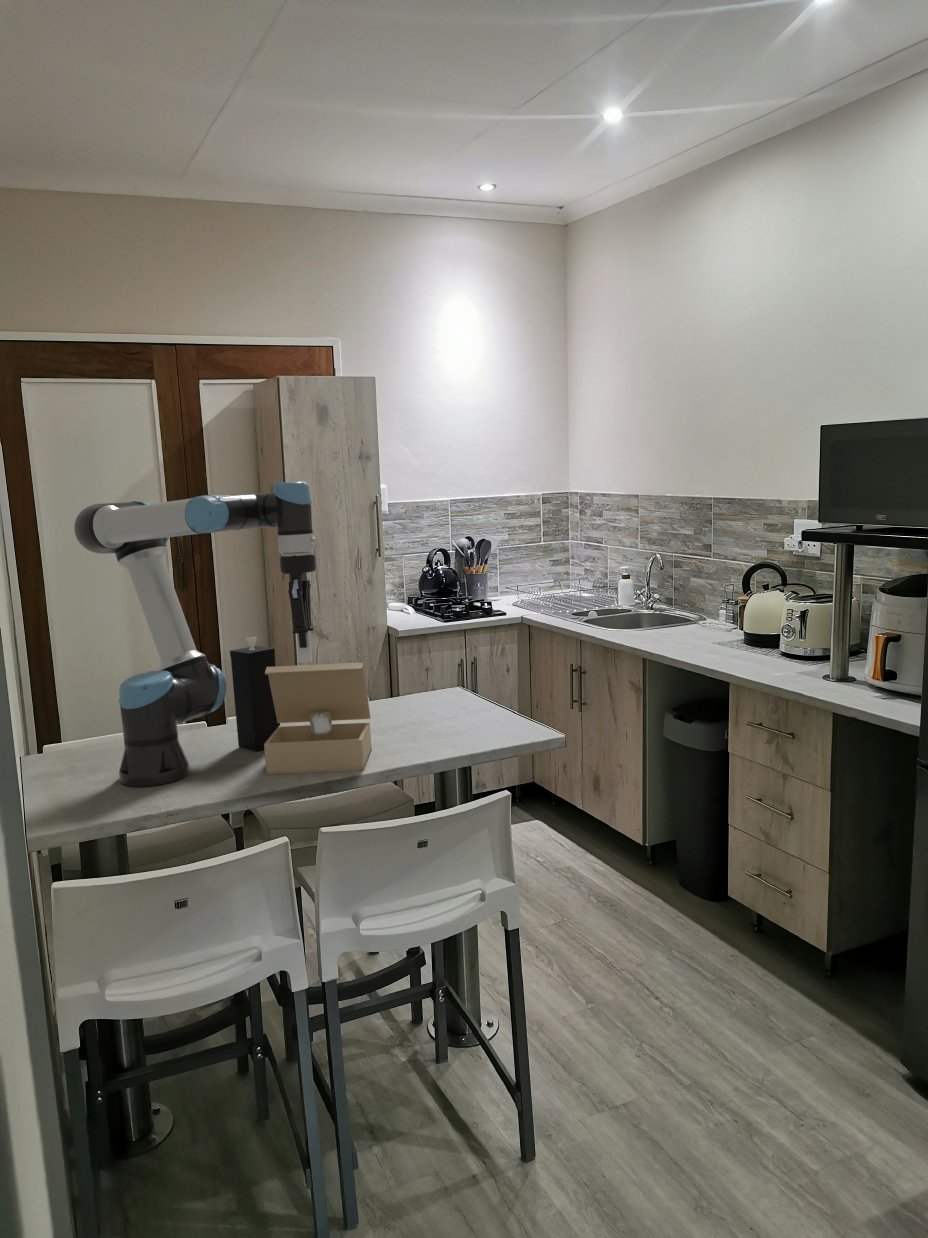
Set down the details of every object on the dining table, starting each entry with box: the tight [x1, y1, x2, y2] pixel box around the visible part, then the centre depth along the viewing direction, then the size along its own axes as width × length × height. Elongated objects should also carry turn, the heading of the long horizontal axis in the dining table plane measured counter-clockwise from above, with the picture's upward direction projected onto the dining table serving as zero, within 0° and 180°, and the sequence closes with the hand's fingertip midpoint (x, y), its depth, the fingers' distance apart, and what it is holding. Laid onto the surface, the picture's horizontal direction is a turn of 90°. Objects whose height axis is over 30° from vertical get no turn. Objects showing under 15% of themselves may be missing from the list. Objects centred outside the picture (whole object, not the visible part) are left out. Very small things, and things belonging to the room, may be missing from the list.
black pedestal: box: [229, 636, 281, 752], centre depth 229 cm, size 8×8×28 cm
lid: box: [265, 661, 371, 724], centre depth 217 cm, size 22×16×3 cm
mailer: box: [263, 721, 373, 775], centre depth 215 cm, size 22×16×7 cm
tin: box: [309, 710, 333, 741], centre depth 218 cm, size 5×5×10 cm
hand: (305, 661), depth 202 cm, fingers closed
